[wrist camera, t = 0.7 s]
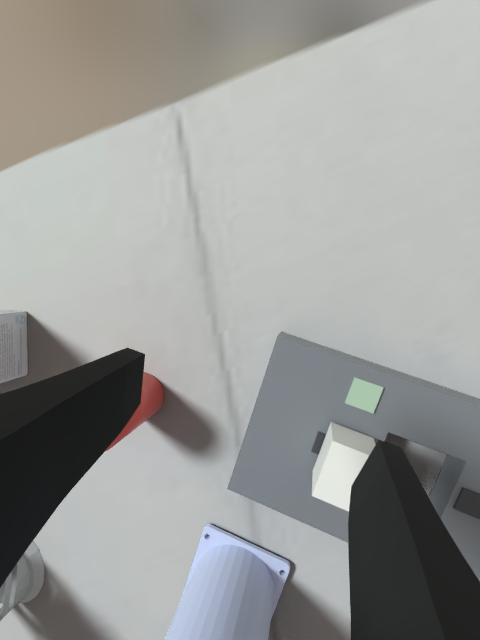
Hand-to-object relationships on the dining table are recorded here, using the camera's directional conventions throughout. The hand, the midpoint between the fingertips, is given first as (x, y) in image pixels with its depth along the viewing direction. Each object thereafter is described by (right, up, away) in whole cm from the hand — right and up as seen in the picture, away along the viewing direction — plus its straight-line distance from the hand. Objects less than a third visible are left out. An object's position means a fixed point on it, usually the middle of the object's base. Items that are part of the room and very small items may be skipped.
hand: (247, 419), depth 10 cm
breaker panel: (+11, -8, +16) cm, 21 cm away
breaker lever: (+7, -7, +14) cm, 17 cm away
